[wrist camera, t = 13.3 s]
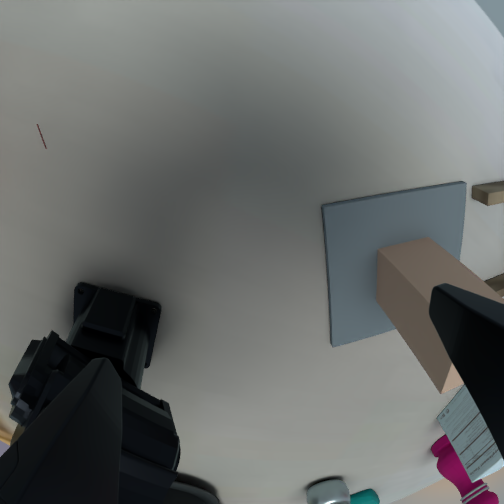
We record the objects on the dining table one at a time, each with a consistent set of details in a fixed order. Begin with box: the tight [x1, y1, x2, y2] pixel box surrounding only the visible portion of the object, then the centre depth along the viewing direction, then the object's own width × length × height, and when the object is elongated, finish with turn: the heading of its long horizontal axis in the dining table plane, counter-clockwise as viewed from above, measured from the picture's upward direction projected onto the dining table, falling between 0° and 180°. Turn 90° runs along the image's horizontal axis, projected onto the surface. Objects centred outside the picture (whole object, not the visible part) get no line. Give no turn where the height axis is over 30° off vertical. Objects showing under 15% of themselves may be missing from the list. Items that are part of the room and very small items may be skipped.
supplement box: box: [437, 385, 504, 483], centre depth 30 cm, size 7×7×13 cm
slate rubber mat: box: [322, 181, 467, 347], centre depth 23 cm, size 12×12×1 cm
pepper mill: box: [431, 435, 499, 504], centre depth 32 cm, size 7×7×20 cm
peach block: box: [376, 237, 504, 394], centre depth 18 cm, size 4×4×10 cm
